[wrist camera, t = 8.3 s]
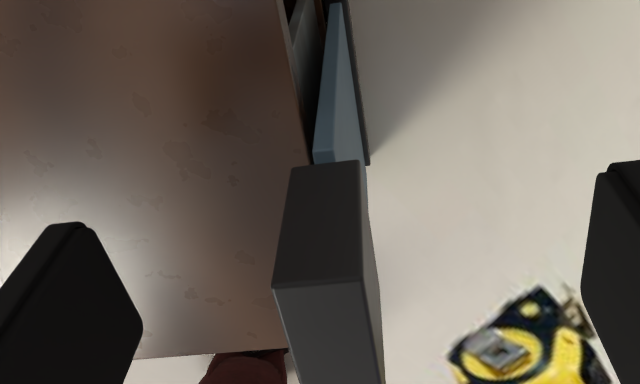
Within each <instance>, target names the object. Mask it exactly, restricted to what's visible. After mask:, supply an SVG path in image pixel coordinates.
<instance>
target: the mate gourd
mask: <svg viewBox="0 0 640 384" xmlns="http://www.w3.org/2000/svg"><path fill="white" fill-rule="evenodd" d="M288 352H289V349H288V348H278V349H265V350H261V351H258V352H256V353H250V352H249V351H239V352H226V353H216V355H215V356H214V358H213V360H212V361H211V363H210V365H209V367H208V370H207V373H206V375H205V376H204V377H203V378H202V380H201V381H200V382H199V384H287V374H286V367H285V361H284V355H285V354H286V353H288Z"/></svg>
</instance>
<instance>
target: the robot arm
mask: <svg viewBox="0 0 640 384" xmlns="http://www.w3.org/2000/svg"><path fill="white" fill-rule="evenodd" d="M580 288H581V296H582V300H583V303H584V306H585V308H586V310H587V312H588V314H589V316H590V319H591V321H592V323H593V325H594V327H595V329H596V332H597V334H598V336H599V338H600V340H601V342H602V344H603V347H604V349H605V351H606V353H607V355H608V357H609V360H610V362H611V364H612V366H613V368H614V370H615V372H616V375H617V377H618V379H619V381H620V383H621V384H640V160H635V161H626V162H617V163H612V164H610V165H609V167H608V168H607V172H603V173H599V174H598V175H597V178H596V182H595V189H594V196H593V203H592V210H591V216H590V223H589V230H588V237H587V244H586V250H585V257H584V264H583V271H582V277H581V286H580ZM142 335H143V322H142V319H141V317H140V315H139V313H138V311H137V309H136V307H135V305H134V303H133V302H132V300H131V298H130V296H129V294H128V292H127V290H126V288H125V287H124V285H123V283H122V281H121V279H120V277H119V275H118V273H117V272H116V270H115V268H114V266H113V264H112V262H111V260H110V258H109V257H108V255H107V253H106V251H105V249H104V247H103V245H102V243H101V242H100V240H99V238H98V236H97V234H96V232H95V231H94V230H93V229H92V228H87V226H86V225H85V224H84V223H82V222H79V221H75V222H66V223H57V224H51V225H48V226H47V227H46V228H45V229H44V231H43V232H42V233H41V235H40V236H39V237H38V239H37V240H36V241H35V243H34V244H33V245H32V247H31V248H30V249H29V251H28V252H27V253H26V255H25V256H24V257H23V259H22V260H21V261H20V263H19V264H18V265H17V267H16V268H15V269H14V270H13V272H12V273H11V274H10V276H9V277H8V278H7V280H6V281H5V282H4V284H3V285H2V286H1V288H0V384H123V382H124V379H125V377H126V375H127V372H128V370H129V367H130V365H131V362H132V360H133V358H134V355H135V353H136V350H137V348H138V345H139V343H140V340H141V338H142Z"/></svg>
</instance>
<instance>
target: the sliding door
mask: <svg viewBox="0 0 640 384" xmlns="http://www.w3.org/2000/svg"><path fill="white" fill-rule="evenodd" d="M312 154H313V159H314V163H315V164H314V165H306V166H298V167H293V168H292V169H291V172H290V178H289V183H288V189H287V195H286V201H285V206H284V212H283V218H282V223H281V229H280V235H279V240H278V246H277V252H276V257H275V263H274V269H273V275H272V280H271V286H270V288H271V291H272V295H273V298H274V301H275V304H276V308H277V311H278V314H279V317H280V321H281V324H282V327H283V331H284V334H285V337H286V340H287V344H288V347H289V350H290V353H291V357H292V360H293V363H294V366H295V370H296V373H297V376H298V380H299V383H300V384H386V381H385V366H384V350H383V335H382V319H381V304H380V289H379V281H378V274H377V268H376V261H375V254H374V248H373V241H372V234H371V228H370V221H369V214H368V195H367V175H366V168H365V161H364V154H363V147H362V141H361V134H360V127H359V120H358V113H357V106H356V99H355V93H354V86H353V79H352V72H351V65H350V58H349V51H348V45H347V38H346V31H345V24H344V17H343V10H342V4H341V2H339V3H333V4H330V7H329V15H328V23H327V32H326V40H325V49H324V57H323V66H322V74H321V83H320V91H319V99H318V108H317V116H316V125H315V133H314V142H313V150H312Z"/></svg>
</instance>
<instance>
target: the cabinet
mask: <svg viewBox="0 0 640 384" xmlns="http://www.w3.org/2000/svg"><path fill="white" fill-rule="evenodd" d="M339 2H341V4H342V10H343V17H344V24H345V31H346V38H347V45H348V51H349V58H350V65H351V72H352V79H353V86H354V93H355V99H356V106H357V113H358V120H359V127H360V134H361V141H362V147H363V154H364V161H365V166H369V165H370V153H369V146H368V139H367V132H366V124H365V117H364V110H363V103H362V96H361V88H360V81H359V74H358V67H357V60H356V52H355V45H354V38H353V31H352V23H351V16H350V9H349V2H348V0H324V5H325V11H326V17H327V23H328V15H329V7H330V4H333V3H339ZM324 5H323V0H0V288H1V286H2V285H3V284H4V282H5V281H6V280H7V278H8V277H9V276H10V274H11V273H12V272H13V270H14V269H15V268H16V267H17V265H18V264H19V263H20V261H21V260H22V259H23V257H24V256H25V255H26V253H27V252H28V251H29V249H30V248H31V247H32V245H33V244H34V243H35V241H36V240H37V239H38V237H39V236H40V235H41V233H42V232H43V231H44V229H45V228H46V227H47V226H48V225H51V224H57V223H66V222H75V221H79V222H82V223H84V224H85V225H86V226H87V228H92V229H93V230H94V231H95V232H96V234H97V236H98V238H99V240H100V242H101V243H102V245H103V247H104V249H105V251H106V253H107V255H108V257H109V258H110V260H111V262H112V264H113V266H114V268H115V270H116V272H117V273H118V275H119V277H120V279H121V281H122V283H123V285H124V287H125V288H126V290H127V292H128V294H129V296H130V298H131V300H132V302H133V303H134V305H135V307H136V309H137V311H138V313H139V315H140V317H141V319H142V322H143V335H142V338H141V340H140V343H139V345H138V348H137V350H136V353H135V355H134V358H133V360H137V359H149V358H162V357H175V356H188V355H201V354H214V353H226V352H239V351H252V350H265V349H278V348H289V347H288V344H287V340H286V337H285V334H284V331H283V327H282V324H281V321H280V317H279V314H278V311H277V308H276V304H275V301H274V298H273V295H272V291H271V288H270V286H271V280H272V275H273V269H274V263H275V257H276V252H277V246H278V240H279V235H280V229H281V223H282V218H283V212H284V206H285V201H286V195H287V189H288V183H289V178H290V172H291V169H292V168H293V167H298V166H306V165H314V164H315V163H314V159H313V154H312V150H313V142H314V133H315V125H316V116H317V108H318V99H319V91H320V83H321V74H322V66H323V57H324V49H325V40H326V32H327V23H326V17H325V11H324Z"/></svg>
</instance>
